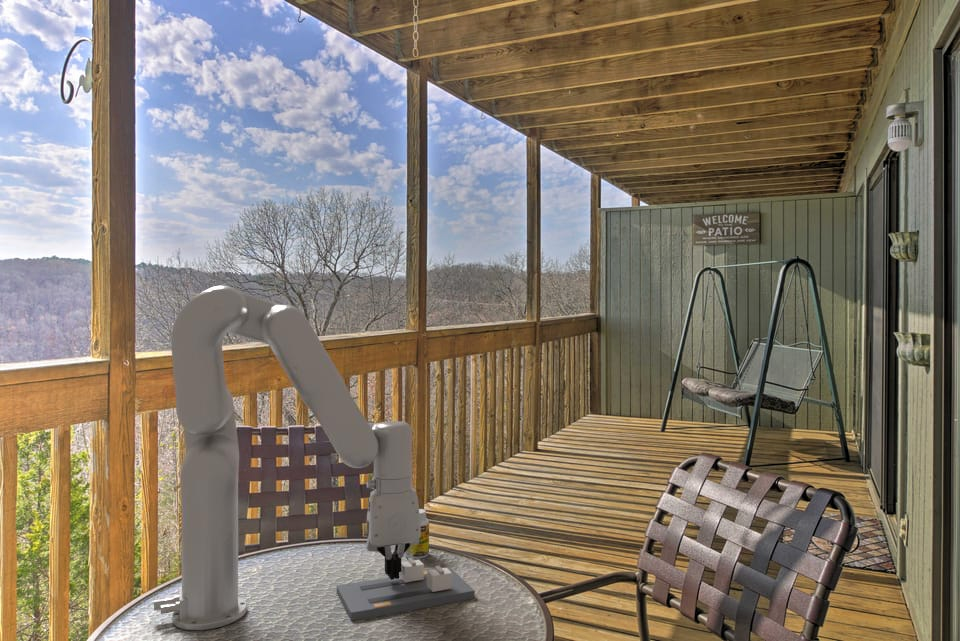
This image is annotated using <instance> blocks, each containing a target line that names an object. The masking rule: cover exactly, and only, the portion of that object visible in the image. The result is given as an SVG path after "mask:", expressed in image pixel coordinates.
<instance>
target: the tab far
mask: <svg viewBox="0 0 960 641" xmlns="http://www.w3.org/2000/svg"><path fill="white" fill-rule="evenodd" d="M424 568H425V564H424V563H423V562H422V561H421V559H412V558H407V561H401V572H399V576H400V578H401V579H402V580H403V581H404V583H405V582H411V581H417V580H423V579H424V572H425V570H424Z"/></svg>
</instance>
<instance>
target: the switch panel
mask: <svg viewBox="0 0 960 641" xmlns="http://www.w3.org/2000/svg"><path fill="white" fill-rule="evenodd" d="M446 568H447V569H448V570H449V571H450V572H451V573H452V589H446V590H440V591H435V592H432V591H431V590H430V589H429V587H428V586H427V571H428V570H427V571H424V579H423V580H417V581H411V582H405V583H404V581H403V580H402V579H401V578H400V575H399V579H396V578H395V579H393V580H391V579H390V578H389V576H388V577H384V578H376V579H371V580H369V579H368V580H364V581H359V582H353V583H345V584H340V585H336V595H337V594H338V595H337V597H338V596H339V597H338V598H340V599H339V601H340V600H341V601H340V602H342V603H341V604H343V605H342V607H343V606H344V607H343V608H344V610H345V612H346V614H347V616H348V618H349V620H350V622H354V621H359V620H363V619H370V618H376V617H382V616H387V615H392V614H395V613H396V614H397V613H402V612H409V611H414V610H419V609H425V608H430V607H435V606H440V605H441V606H442V605H446V604H447V605H448V604H451V603H457V602H458V603H459V602H463V601H467V600H468V601H469V600H473V599H475V593H476V592H475V590H474V589H473V587H471V586H470V585H469V584H468V583H467V582H466V581H465V580H464V579H463V578H462V577H461V576H460V575H459V574H458V573H457V572H456V571H455V570H454V569H453V568H452V567H446Z"/></svg>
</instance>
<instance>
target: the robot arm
mask: <svg viewBox="0 0 960 641" xmlns="http://www.w3.org/2000/svg"><path fill="white" fill-rule="evenodd" d="M226 334H230V335H232V336H233V335H235V336H237V337H240V338H243V339H246V340H251V341H254V342H258V343H262V344H265V345H268V346H269V347H270V349H271V351H272V352H273V355H274V356H275V358H276V359H277V361H278V362H279V364H280V366H281V368H282V369H283V370H284V372H285V374H286V375H287V378H288V379H289V381H290V382H291V384H292V386H293V388H294V390H295V391H296V393H297V394H298V395H299V397H300V399H301V401H302V402H303V403H304V405H305V406H306V407H307V408H308V409H309V410H310V412H311V413H312V415H313V416H314V417H315V419H316V420H317V422H318V424H319V425H320V427H321V429H322V430H323V431H324V433H325V435H326V436H327V438H328V439H329V441H330V443H331V445H332V446H333V448H334V450H335V452H336V454H337V455H338V457H339V459H340V460H341V461H342V463H343V464H345V465H346V466H347V467H350V468H353V469H362V468H366V467H368V466H370V464H372V463H373V475H372V479H371V480H368V481H366V488H367V489H372V491H371V492H370V495H369V499H368V505H367V513H366V526H365V528H366V531H365V533H366V534H365V535H366V539H367V540H366V544H365V548H366V550H367V551H369V552H375V553H377V552H378V553H379V554H380V555H382V556H383V557H384V573H385V575H386V576H388V577H389V578H390V579H391V580H393V579H395V578H396V579H399V576H400V572H401V562H402V558H403V557H404V556H405V552H406V551H407V549H408V548H409V547H411V546H414V545H416V544H418V543H419V542H420V540H419V538H420V533H421V528H420V514H419V509H420V506H419V500H418V494H417V490H416V489H415V488H413V486H412V485H413V477H412V476H413V470H412V469H413V461H412V459H413V456H412V454H413V453H412V451H413V450H412V449H413V447H412V446H413V444H412V443H413V442H412V441H413V438H412V437H413V434H412V433H413V432H412V431H413V430H412V427H411V425H410V423H408V422H406V421H402V420H401V421H400V420H390V421H388V420H387V421H382V422H368V421H367V419H366V417H365V416H364V414H363V412H362V410H361V409H360V408H359V405H358V404H357V403H356V401H355V399H354V397H353V396H352V394H351V393H350V391H349V389H348V387H347V385H346V383H345V381H344V379H343V376H342V375H341V374H340V372H339V371H338V369H337V367H336V365H335V364H334V362H333V360H332V359H331V357H330V355H329V354H328V352H327V350H326V348H325V347H324V345H323V343H322V341H321V340H320V339H319V338H320V337H318V335H317V333H316V331H315V330H314V328H313V326H312V325H311V323H310V321H309V320H308V318H307V316H306V315H305V314H304V312H303V311H302V310H301V309H299V308H298V307H296V306H294V305H290V304H289V305H288V304H280V303H277V302H273V301H269V300H267V299H262V298H260V297H256V296H253V295H251V294H248V293H244V292H241V291H239V290H237V289H236V288H234V287H232V286H229V285H216V286H212V287H209V288H207V289H205V290H202V291H200V293H198V294H196V295H195V296H194V297H192V298H191V299H190V300H188V302H186V303H185V305H183V307H182V308H181V310H180V311H179V313H178V314H177V316H176V318H175V320H174V323H173V326H172V329H171V338H170V345H171V346H170V347H171V357H172V359H171V360H172V370H173V382H174V392H175V405H176V406H175V410H176V417H177V419H178V422H179V423H180V426H182V428H183V435H184V444H185V450H186V451H185V452H186V455H185V456H184V458H183V461H182V464H181V468H180V474H179V475H180V476H179V479H180V480H179V485H180V486H179V489H180V503H181V506H180V507H181V588H179V593H178V594H173V597H167V598H165V597H163V598H155V599H153V612H156V611H160V615H164V614H169V613H172V615H171V619H172V620H171V621H172V624H173V625H174V626H175V627H177V628H180V629H182V630H187V631H204V630H205V631H206V630H212V629H216V628H217V629H218V628H221V627H224V626H226V625H230V624H233V623H235V622H236V621H238V620H240V619H241V618H242V617H243V616H244V615H245V614H246V613H247V611H248V602H247V600H245V599H244V598H242V597H241V596H239V469H240V468H239V467H240V449H239V448H240V447H239V439H238V438H239V437H238V432H237V430H238V429H237V423H236V414H235V406H234V398H233V395H232V393H231V390H230V389H229V388H228V386H227V383H226V374H225V367H224V366H225V364H224V363H225V362H224V361H225V360H224V355H223V342H224V338H225V336H226ZM392 546H394V548H393V553H392Z"/></svg>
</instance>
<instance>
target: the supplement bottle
mask: <svg viewBox="0 0 960 641" xmlns="http://www.w3.org/2000/svg"><path fill="white" fill-rule="evenodd" d="M419 514H420V528H421V533H420V538H419V540H420V542H419V543H418V544H416V545H414V546H411V547H409V548H408V549H407V551H406V552H405V553H404V556H405V557H406V558H407V559H408V558H412V559H413V560H421V559H425V558H426V557H428V556H429V554H430V519H428V518H427V511H426V510H425V509H424V508H419Z"/></svg>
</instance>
